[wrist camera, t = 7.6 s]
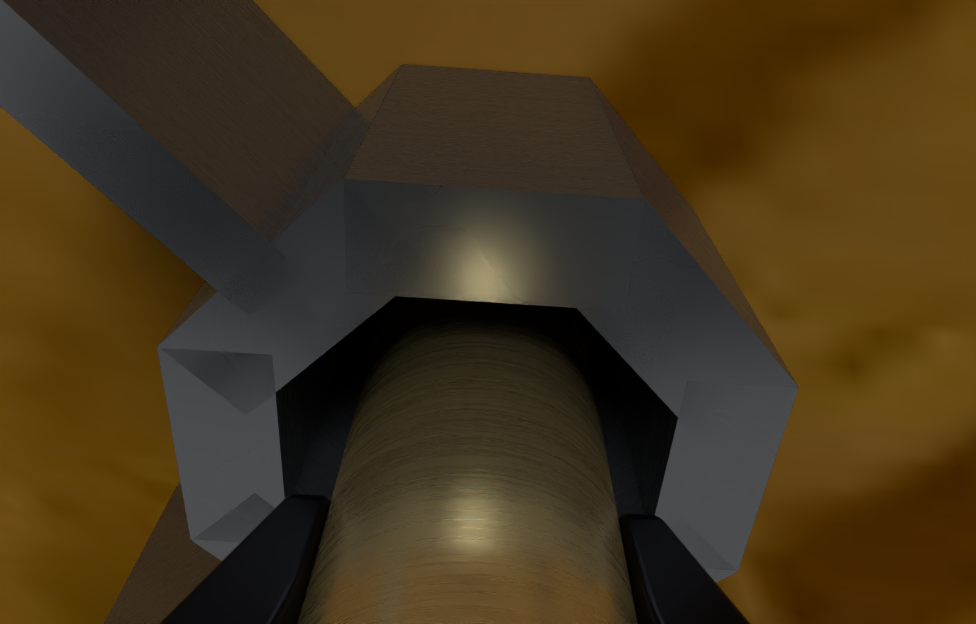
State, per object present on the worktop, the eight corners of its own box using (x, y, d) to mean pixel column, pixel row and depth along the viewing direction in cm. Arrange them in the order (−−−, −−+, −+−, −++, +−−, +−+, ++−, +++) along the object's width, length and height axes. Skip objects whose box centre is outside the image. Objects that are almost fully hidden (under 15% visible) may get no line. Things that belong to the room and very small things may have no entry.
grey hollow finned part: (757, 291, 13) (884, 494, 9) (313, 584, 17) (250, 827, 13) (251, -351, 9) (19, -566, 5) (-188, 228, 13) (-541, 407, 8)
